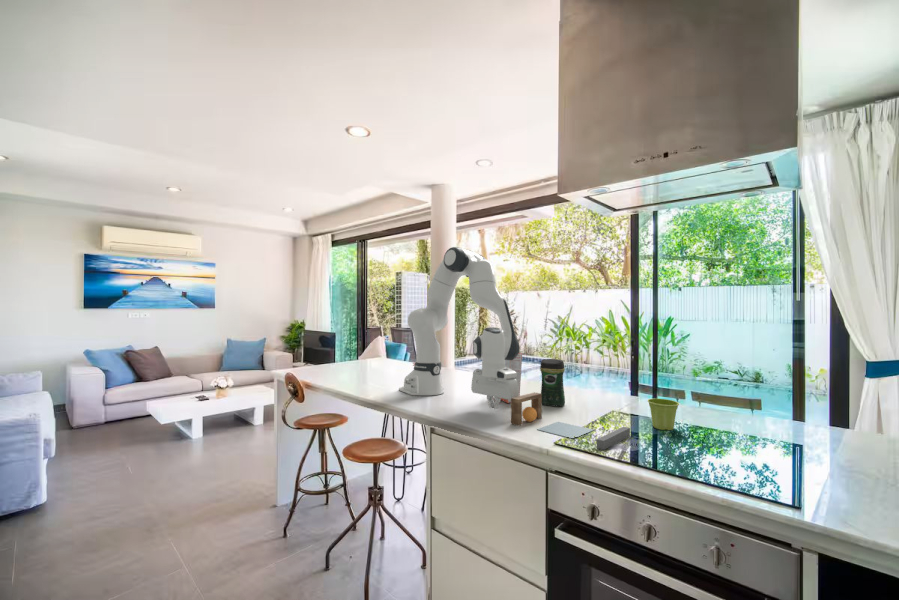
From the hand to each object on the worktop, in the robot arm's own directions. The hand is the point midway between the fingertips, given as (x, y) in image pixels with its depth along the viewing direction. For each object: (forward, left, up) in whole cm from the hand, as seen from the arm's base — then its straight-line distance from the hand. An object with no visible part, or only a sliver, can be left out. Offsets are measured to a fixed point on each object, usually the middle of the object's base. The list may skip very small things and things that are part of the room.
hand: (493, 408), depth 154 cm
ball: (+16, 0, +1) cm, 16 cm away
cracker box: (-10, +20, -2) cm, 23 cm away
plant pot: (+51, +26, -2) cm, 57 cm away
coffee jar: (+8, +28, -2) cm, 29 cm away
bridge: (+15, 0, -2) cm, 15 cm away
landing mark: (+30, 0, -2) cm, 30 cm away
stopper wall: (+46, 0, -2) cm, 46 cm away
